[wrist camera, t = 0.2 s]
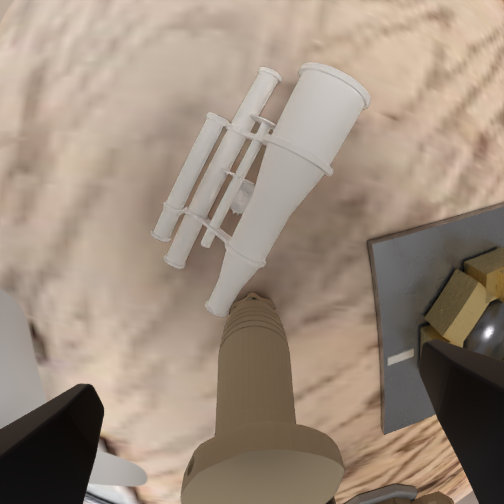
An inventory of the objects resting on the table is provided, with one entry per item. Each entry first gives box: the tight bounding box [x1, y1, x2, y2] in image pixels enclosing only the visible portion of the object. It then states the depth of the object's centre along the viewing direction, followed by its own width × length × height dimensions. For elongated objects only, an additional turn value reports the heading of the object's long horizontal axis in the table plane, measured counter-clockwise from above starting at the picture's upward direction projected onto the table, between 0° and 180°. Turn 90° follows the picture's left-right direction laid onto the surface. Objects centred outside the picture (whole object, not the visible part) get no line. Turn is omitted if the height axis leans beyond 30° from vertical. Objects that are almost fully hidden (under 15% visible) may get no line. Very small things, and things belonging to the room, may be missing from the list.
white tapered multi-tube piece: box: [151, 62, 371, 317], centre depth 17 cm, size 8×14×5 cm
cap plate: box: [367, 203, 504, 435], centre depth 21 cm, size 20×20×4 cm
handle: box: [181, 293, 345, 504], centre depth 15 cm, size 5×6×15 cm
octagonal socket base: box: [420, 247, 504, 361], centre depth 19 cm, size 13×13×6 cm
